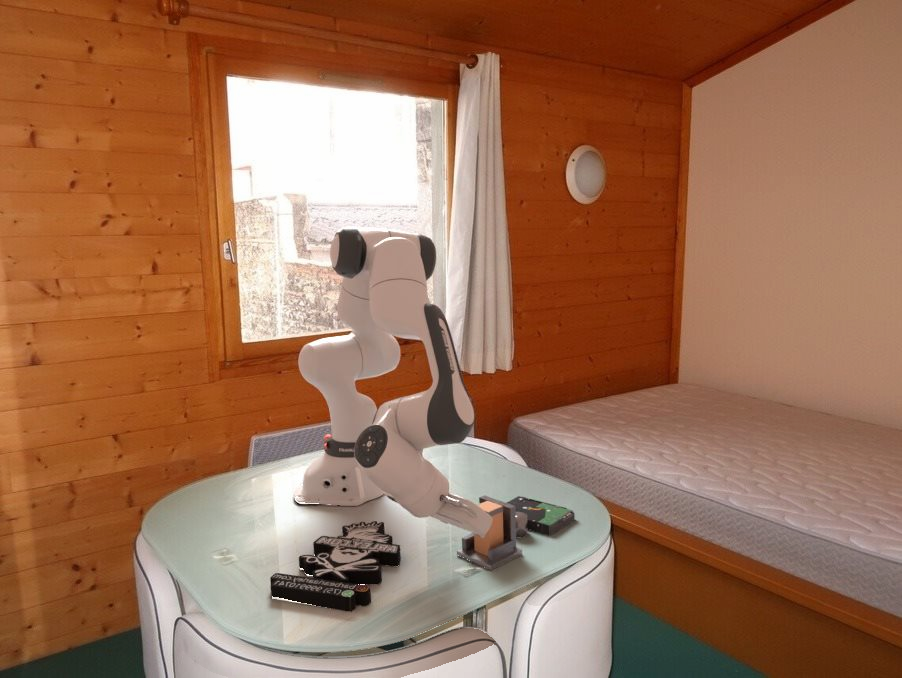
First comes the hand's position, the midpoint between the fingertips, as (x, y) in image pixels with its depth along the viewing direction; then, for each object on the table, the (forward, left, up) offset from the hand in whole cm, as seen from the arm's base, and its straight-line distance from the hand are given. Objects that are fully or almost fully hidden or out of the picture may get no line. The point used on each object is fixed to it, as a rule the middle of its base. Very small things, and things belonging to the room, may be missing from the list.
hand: (464, 526), depth 132 cm
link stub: (+12, +14, -8) cm, 20 cm away
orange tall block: (+5, +5, -7) cm, 10 cm away
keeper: (+5, +5, -8) cm, 11 cm away
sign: (-22, +4, -9) cm, 24 cm away
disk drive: (+17, +20, -9) cm, 28 cm away
